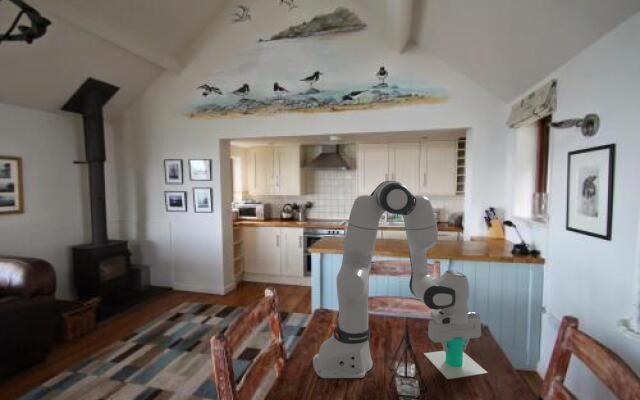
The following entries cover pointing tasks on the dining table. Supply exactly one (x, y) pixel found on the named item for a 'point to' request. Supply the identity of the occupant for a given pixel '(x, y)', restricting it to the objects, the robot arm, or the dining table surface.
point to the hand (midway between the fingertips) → (454, 350)
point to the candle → (455, 352)
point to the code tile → (452, 372)
